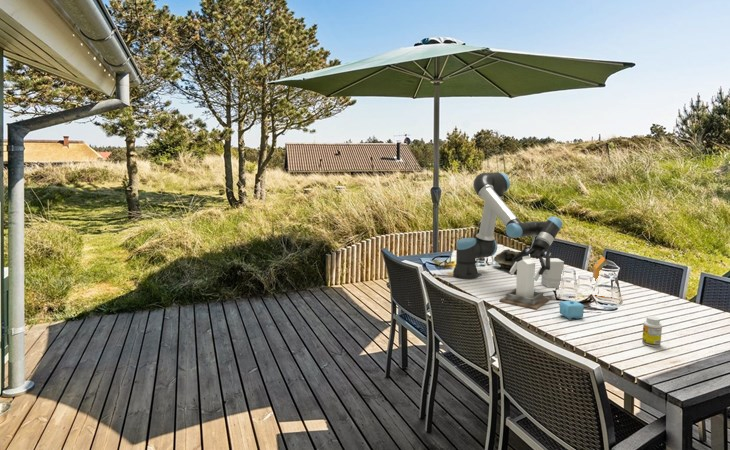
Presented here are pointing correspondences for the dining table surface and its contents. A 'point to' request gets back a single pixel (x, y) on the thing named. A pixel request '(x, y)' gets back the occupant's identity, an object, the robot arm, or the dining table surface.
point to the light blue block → (571, 309)
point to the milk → (525, 277)
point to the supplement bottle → (652, 331)
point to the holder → (525, 300)
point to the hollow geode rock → (506, 258)
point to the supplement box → (552, 273)
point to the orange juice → (599, 267)
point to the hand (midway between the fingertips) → (522, 276)
